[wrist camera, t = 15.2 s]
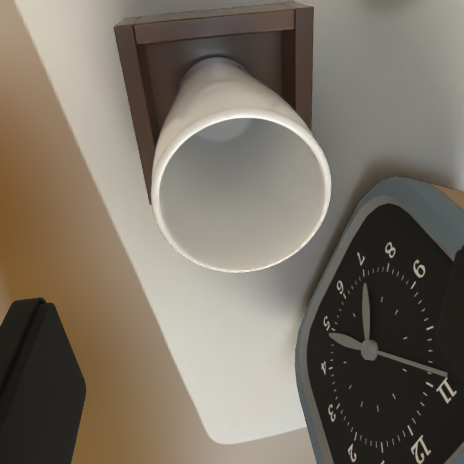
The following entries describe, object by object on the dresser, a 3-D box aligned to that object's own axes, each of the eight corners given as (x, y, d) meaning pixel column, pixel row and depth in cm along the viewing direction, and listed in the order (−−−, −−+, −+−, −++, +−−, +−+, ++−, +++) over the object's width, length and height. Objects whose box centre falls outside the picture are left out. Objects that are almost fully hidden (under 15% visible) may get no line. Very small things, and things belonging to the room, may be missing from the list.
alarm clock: (372, 144, 32) (629, 380, 13) (478, 172, 34) (826, 410, 15) (281, 340, 42) (356, 630, 23) (367, 352, 44) (499, 628, 25)
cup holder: (154, 175, 31) (149, 205, 27) (124, 17, 26) (113, 25, 22) (294, 160, 32) (310, 187, 28) (294, 1, 26) (314, 6, 22)
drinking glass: (286, 109, 29) (365, 216, 16) (206, 165, 30) (221, 302, 18) (229, 19, 26) (273, 63, 13) (143, 86, 27) (106, 184, 15)
